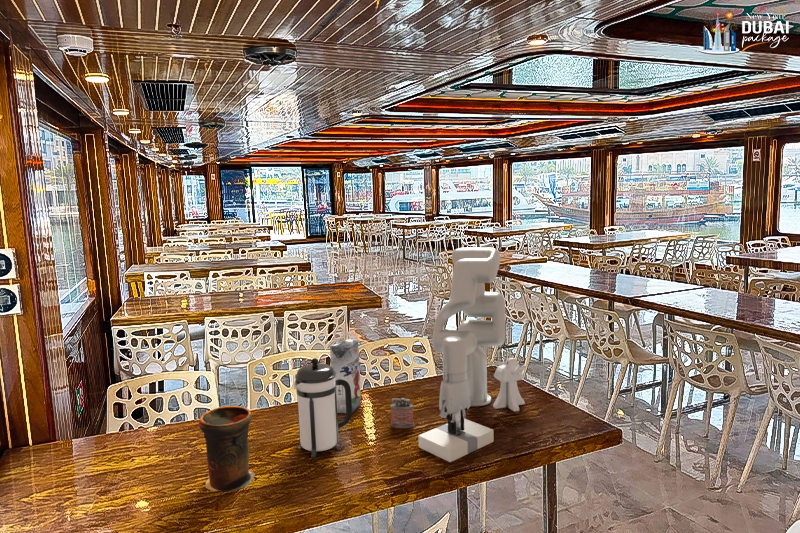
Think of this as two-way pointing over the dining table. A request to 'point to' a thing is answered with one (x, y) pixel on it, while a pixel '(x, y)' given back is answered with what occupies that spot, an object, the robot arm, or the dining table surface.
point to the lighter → (401, 413)
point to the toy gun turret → (509, 384)
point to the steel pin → (458, 422)
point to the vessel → (227, 447)
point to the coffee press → (319, 407)
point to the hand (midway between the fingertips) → (456, 430)
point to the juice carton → (346, 372)
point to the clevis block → (455, 440)
